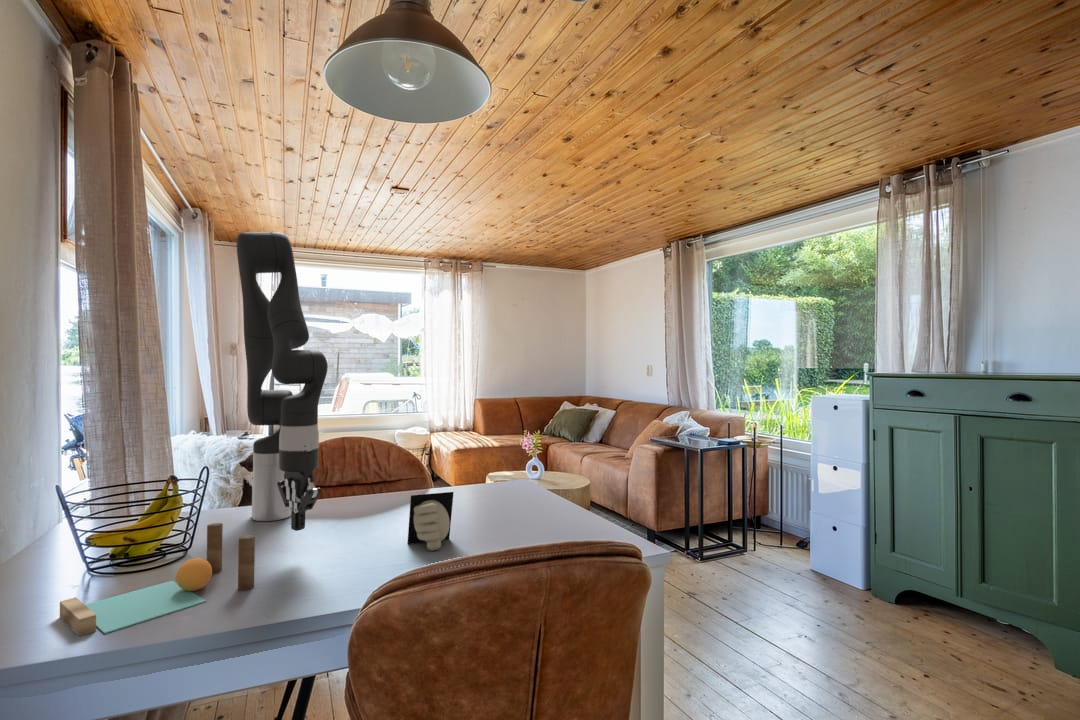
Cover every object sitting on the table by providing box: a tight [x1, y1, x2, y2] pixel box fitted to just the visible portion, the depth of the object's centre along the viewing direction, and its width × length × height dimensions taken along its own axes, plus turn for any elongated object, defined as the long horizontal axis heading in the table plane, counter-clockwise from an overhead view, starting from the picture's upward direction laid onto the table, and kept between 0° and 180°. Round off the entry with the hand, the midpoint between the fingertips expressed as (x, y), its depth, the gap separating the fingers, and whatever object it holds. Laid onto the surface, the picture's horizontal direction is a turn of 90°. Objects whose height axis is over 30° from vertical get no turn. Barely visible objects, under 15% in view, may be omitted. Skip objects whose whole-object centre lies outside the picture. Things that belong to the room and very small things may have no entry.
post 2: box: [237, 535, 256, 592], centre depth 100 cm, size 3×3×9 cm
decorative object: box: [407, 491, 455, 551], centre depth 123 cm, size 12×10×10 cm
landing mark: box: [84, 580, 207, 635], centre depth 92 cm, size 14×14×1 cm
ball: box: [175, 557, 213, 592], centre depth 98 cm, size 6×6×6 cm
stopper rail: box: [59, 597, 97, 637], centre depth 85 cm, size 10×2×2 cm, turn 54°
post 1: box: [206, 522, 224, 575], centre depth 107 cm, size 3×3×9 cm
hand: (298, 529), depth 114 cm, fingers closed
